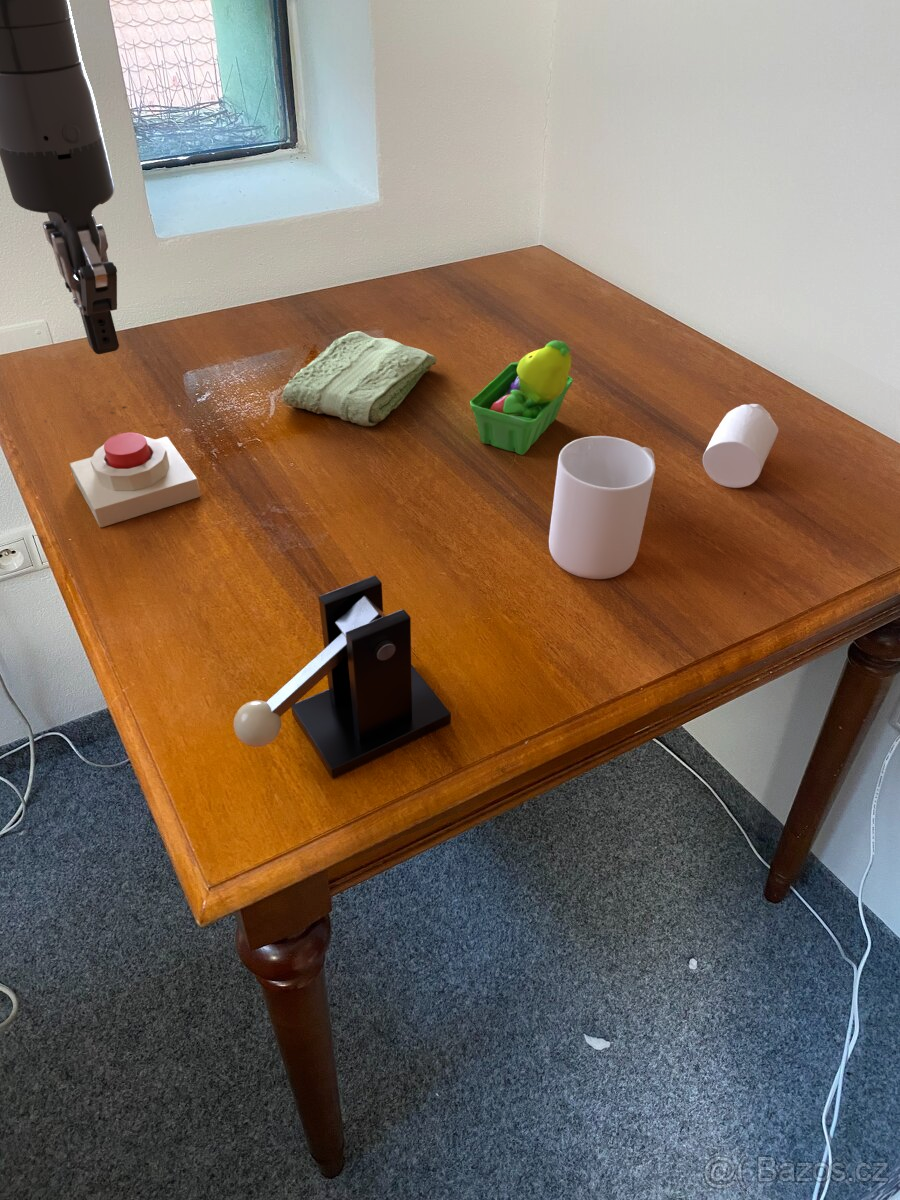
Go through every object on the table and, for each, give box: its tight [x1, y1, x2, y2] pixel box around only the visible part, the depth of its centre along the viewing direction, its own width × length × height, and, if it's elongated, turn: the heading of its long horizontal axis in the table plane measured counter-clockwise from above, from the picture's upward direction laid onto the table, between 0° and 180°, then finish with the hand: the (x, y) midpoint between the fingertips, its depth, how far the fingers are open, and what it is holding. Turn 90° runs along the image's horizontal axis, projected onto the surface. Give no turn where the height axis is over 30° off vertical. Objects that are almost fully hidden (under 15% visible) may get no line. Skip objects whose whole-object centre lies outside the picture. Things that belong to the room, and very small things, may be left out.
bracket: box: [290, 574, 452, 780], centre depth 63 cm, size 10×7×12 cm
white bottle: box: [702, 403, 779, 489], centre depth 92 cm, size 6×12×6 cm, turn 153°
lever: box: [233, 596, 386, 748], centre depth 60 cm, size 13×3×3 cm
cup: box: [548, 435, 656, 580], centre depth 80 cm, size 8×12×10 cm
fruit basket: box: [469, 339, 574, 456], centre depth 94 cm, size 11×9×11 cm
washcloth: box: [280, 330, 437, 427], centre depth 103 cm, size 13×18×3 cm
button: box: [103, 432, 150, 469], centre depth 85 cm, size 4×4×2 cm
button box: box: [69, 435, 202, 529], centre depth 87 cm, size 10×9×4 cm
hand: (105, 349), depth 77 cm, fingers closed
